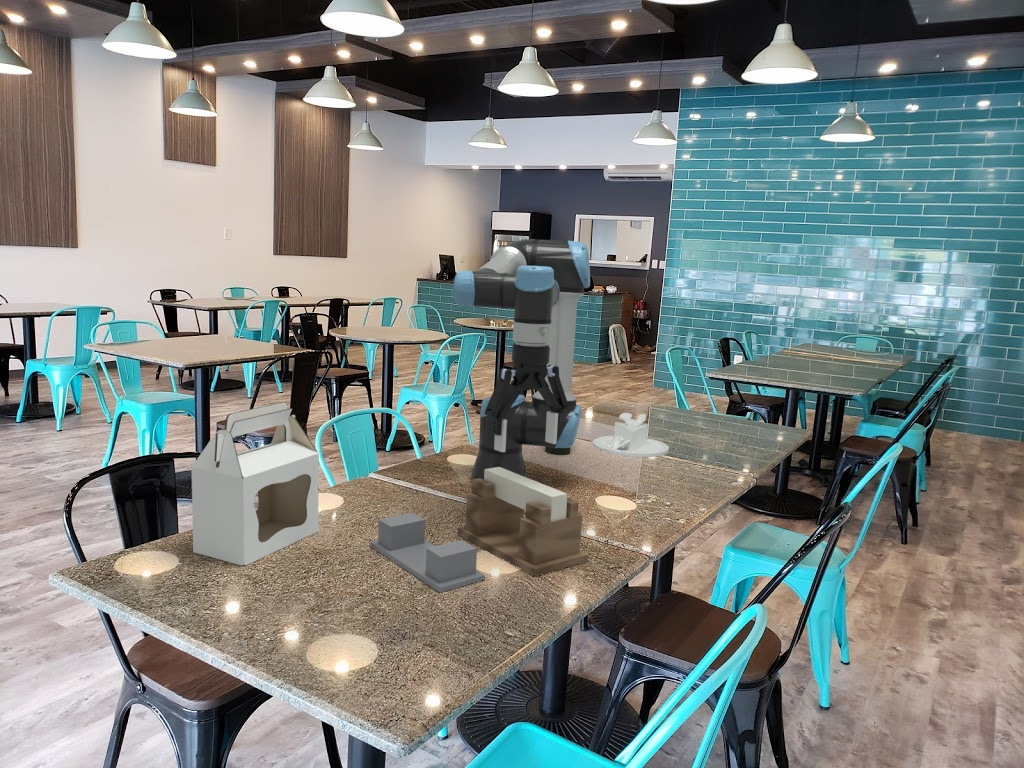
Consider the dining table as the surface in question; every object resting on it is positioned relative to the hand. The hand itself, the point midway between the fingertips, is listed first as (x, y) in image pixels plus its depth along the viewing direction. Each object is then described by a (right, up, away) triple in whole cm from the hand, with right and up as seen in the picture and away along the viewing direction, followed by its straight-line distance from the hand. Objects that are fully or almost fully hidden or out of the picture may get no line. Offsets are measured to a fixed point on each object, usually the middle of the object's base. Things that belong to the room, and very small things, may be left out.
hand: (525, 446), depth 156 cm
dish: (+36, -8, +95) cm, 102 cm away
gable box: (-55, -20, 0) cm, 58 cm away
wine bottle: (+12, -9, +84) cm, 86 cm away
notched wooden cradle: (-1, -21, +3) cm, 22 cm away
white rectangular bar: (-1, -12, +2) cm, 12 cm away
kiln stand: (-20, -22, -7) cm, 31 cm away
